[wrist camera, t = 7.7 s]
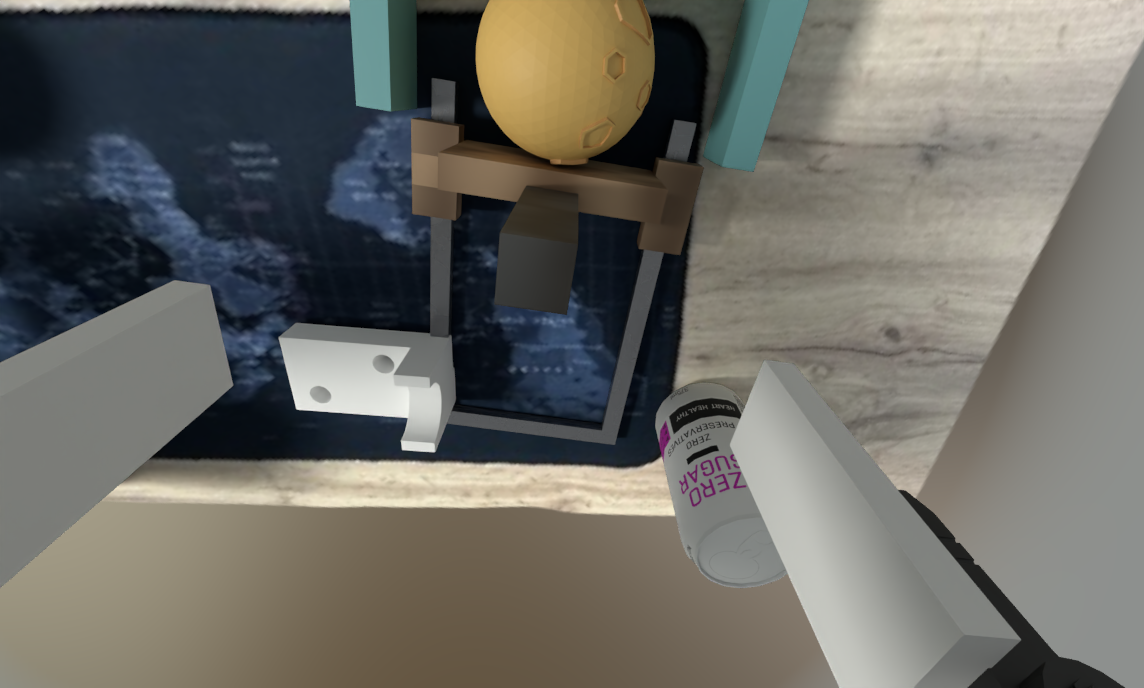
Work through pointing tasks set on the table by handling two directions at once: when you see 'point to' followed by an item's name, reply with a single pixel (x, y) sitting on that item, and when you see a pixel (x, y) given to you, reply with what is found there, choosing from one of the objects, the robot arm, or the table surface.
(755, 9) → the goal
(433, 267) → the rails
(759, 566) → the supplement can
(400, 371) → the bracket
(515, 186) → the carriage
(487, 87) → the stress ball
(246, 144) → the table surface
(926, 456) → the table surface
